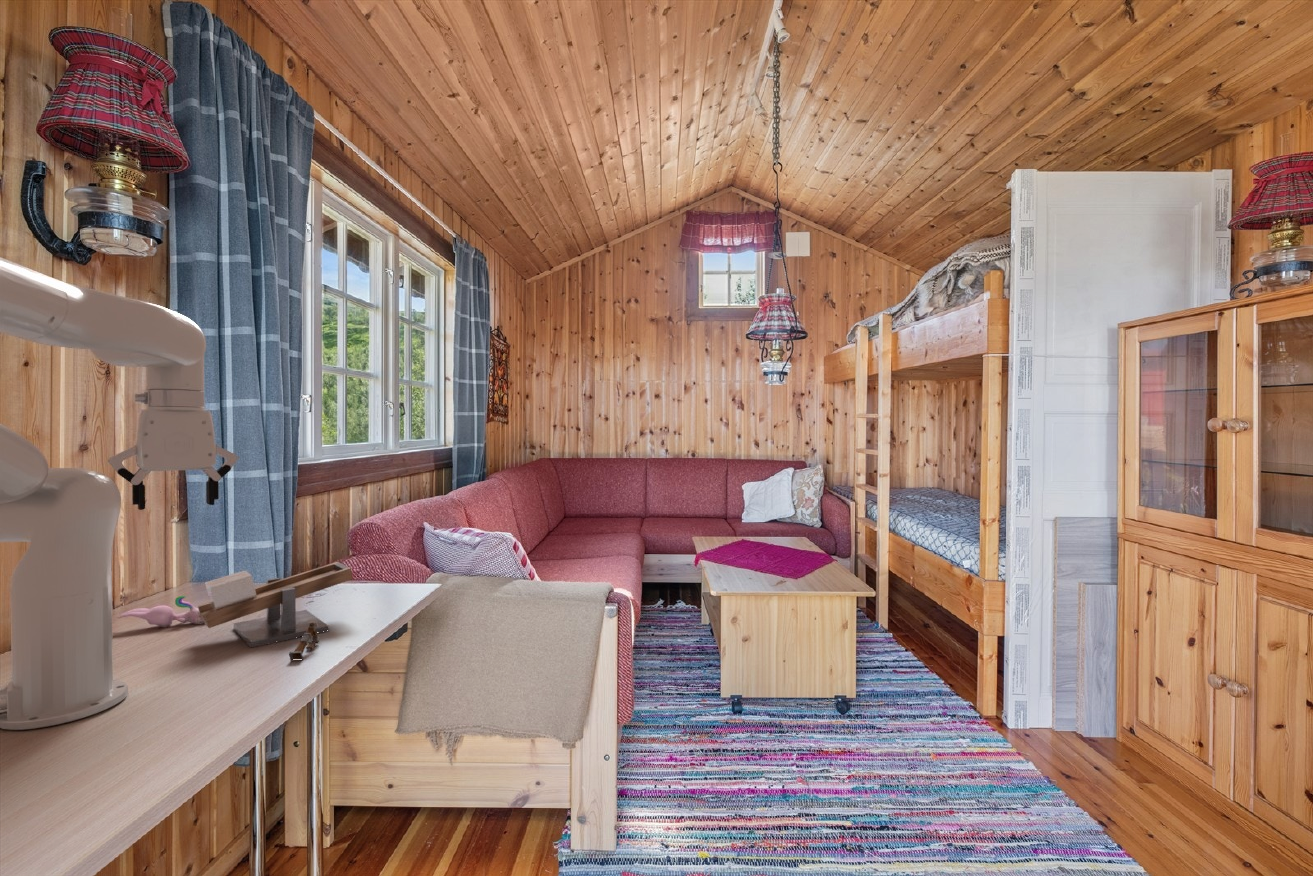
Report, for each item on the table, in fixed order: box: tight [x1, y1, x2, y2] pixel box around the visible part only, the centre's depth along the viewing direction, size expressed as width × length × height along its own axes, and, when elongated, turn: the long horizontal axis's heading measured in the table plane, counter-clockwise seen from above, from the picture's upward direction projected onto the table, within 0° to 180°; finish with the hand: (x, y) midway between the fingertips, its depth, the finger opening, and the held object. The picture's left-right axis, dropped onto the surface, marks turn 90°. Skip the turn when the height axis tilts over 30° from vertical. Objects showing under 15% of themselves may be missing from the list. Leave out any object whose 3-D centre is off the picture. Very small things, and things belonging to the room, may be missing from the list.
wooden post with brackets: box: [288, 621, 320, 661], centre depth 100 cm, size 2×8×4 cm, turn 7°
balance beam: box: [197, 561, 354, 629], centre depth 111 cm, size 23×8×2 cm, turn 135°
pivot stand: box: [233, 577, 330, 648], centre depth 111 cm, size 12×14×8 cm
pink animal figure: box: [116, 595, 205, 628], centre depth 114 cm, size 6×6×15 cm
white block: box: [204, 570, 257, 611], centre depth 106 cm, size 6×5×5 cm
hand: (176, 506), depth 101 cm, fingers open, 8 cm apart
